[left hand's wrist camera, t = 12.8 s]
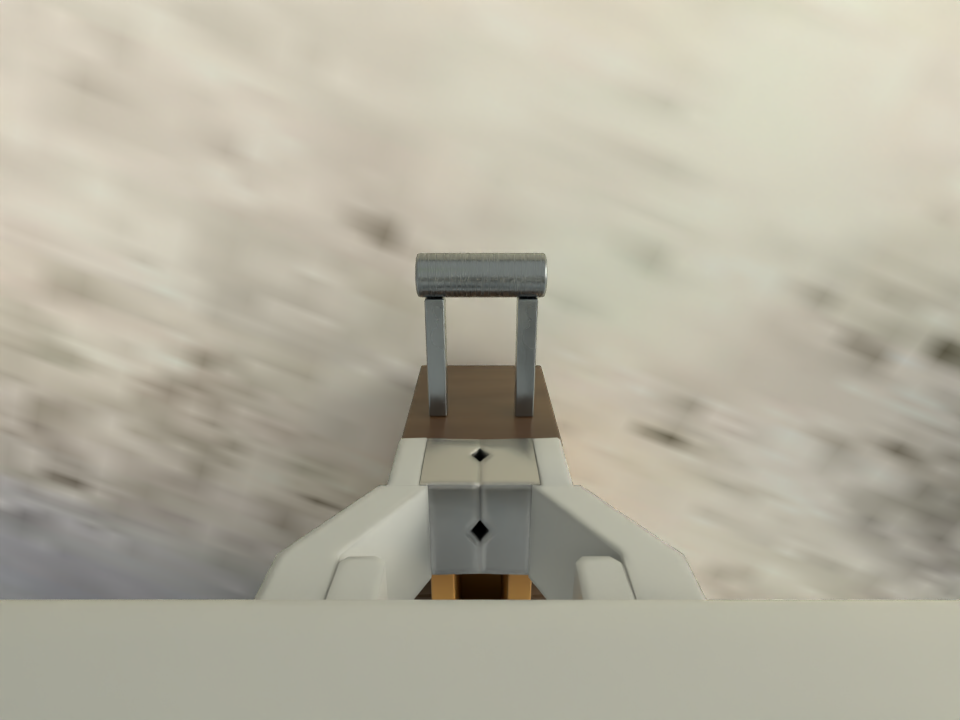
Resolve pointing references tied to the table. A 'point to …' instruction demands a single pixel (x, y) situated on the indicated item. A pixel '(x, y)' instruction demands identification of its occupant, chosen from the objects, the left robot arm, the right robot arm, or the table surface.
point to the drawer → (481, 381)
